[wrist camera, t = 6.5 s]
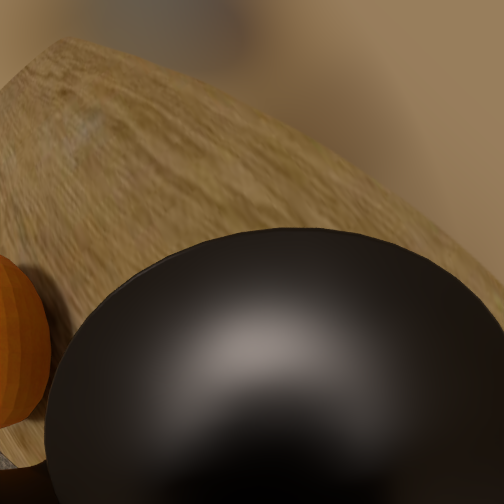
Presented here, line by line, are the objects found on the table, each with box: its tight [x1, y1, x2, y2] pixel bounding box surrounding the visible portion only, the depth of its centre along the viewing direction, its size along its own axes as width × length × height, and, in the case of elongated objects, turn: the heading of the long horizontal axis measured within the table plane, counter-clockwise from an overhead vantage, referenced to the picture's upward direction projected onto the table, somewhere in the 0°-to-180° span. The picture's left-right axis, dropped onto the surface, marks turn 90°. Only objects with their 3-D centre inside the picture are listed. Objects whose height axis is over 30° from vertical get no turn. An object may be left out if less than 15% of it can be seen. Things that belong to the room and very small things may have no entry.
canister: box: [44, 228, 504, 504], centre depth 9 cm, size 7×7×13 cm
